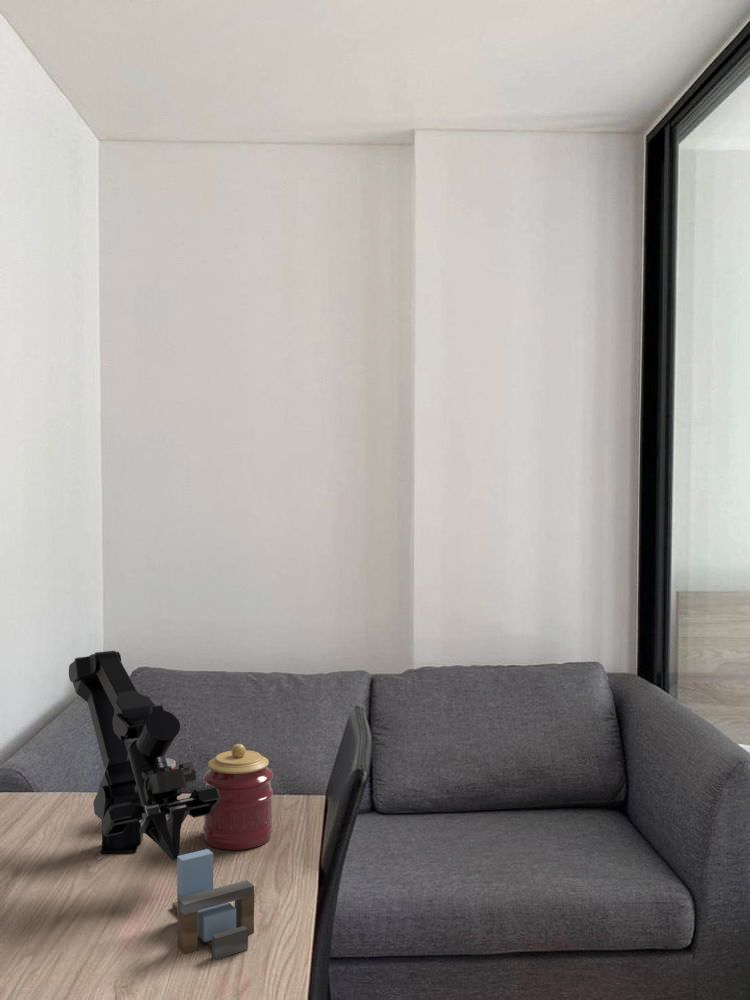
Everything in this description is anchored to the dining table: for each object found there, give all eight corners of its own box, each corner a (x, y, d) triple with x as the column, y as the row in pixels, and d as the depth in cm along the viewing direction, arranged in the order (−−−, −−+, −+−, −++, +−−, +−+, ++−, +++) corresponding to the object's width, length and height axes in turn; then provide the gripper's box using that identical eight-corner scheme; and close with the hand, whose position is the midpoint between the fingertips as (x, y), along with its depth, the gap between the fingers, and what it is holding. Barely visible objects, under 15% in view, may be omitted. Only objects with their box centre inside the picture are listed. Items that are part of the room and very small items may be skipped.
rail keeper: (147, 914, 143) (147, 869, 143) (213, 896, 149) (213, 853, 149) (195, 966, 128) (195, 915, 128) (266, 943, 134) (266, 896, 134)
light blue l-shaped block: (177, 914, 141) (177, 856, 141) (207, 906, 144) (207, 848, 144) (204, 942, 133) (204, 879, 132) (236, 932, 135) (236, 871, 135)
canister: (285, 841, 172) (285, 747, 172) (221, 857, 165) (221, 758, 164) (253, 820, 183) (253, 731, 182) (192, 834, 175) (192, 741, 175)
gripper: (107, 756, 146) (131, 850, 137) (216, 738, 157) (245, 824, 148) (91, 790, 153) (113, 881, 144) (197, 770, 163) (223, 854, 155)
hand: (175, 859), depth 148 cm, fingers closed
